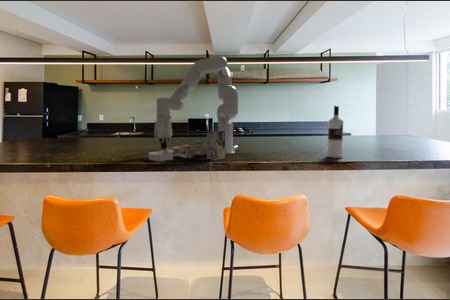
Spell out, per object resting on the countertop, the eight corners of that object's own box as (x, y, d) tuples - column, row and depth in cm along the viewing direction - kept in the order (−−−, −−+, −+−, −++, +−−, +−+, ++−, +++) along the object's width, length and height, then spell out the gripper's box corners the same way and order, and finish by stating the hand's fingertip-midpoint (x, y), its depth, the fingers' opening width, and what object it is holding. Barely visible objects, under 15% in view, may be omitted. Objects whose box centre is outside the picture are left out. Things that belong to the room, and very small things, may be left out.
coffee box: (217, 157, 181) (217, 130, 179) (225, 158, 177) (225, 130, 175) (206, 159, 174) (206, 131, 172) (214, 160, 170) (214, 131, 168)
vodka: (332, 155, 187) (334, 105, 183) (345, 157, 180) (348, 105, 175) (322, 156, 182) (324, 105, 178) (335, 158, 175) (338, 105, 170)
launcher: (188, 145, 200) (188, 139, 199) (202, 147, 189) (201, 141, 188) (160, 150, 186) (159, 144, 185) (173, 153, 175) (172, 146, 175)
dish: (163, 157, 181) (163, 150, 181) (173, 159, 174) (173, 152, 173) (148, 159, 175) (148, 152, 174) (157, 161, 167) (157, 154, 167)
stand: (190, 152, 200) (189, 146, 200) (205, 155, 188) (205, 149, 188) (162, 156, 187) (161, 149, 186) (177, 159, 174) (177, 152, 174)
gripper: (170, 118, 191) (170, 147, 193) (149, 118, 181) (149, 149, 183) (177, 118, 185) (177, 148, 188) (155, 118, 175) (155, 150, 178)
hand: (163, 149), depth 185 cm, fingers closed
